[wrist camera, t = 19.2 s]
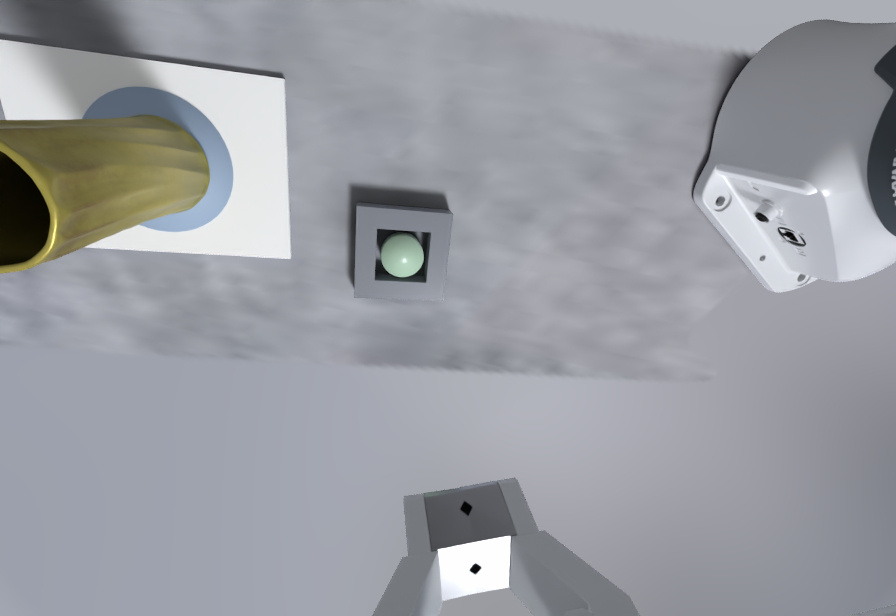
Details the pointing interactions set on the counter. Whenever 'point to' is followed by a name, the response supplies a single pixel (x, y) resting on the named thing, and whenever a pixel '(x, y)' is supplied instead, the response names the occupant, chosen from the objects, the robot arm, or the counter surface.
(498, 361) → the counter surface
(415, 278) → the button collar
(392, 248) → the button
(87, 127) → the vase
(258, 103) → the paper pad
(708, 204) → the robot arm
